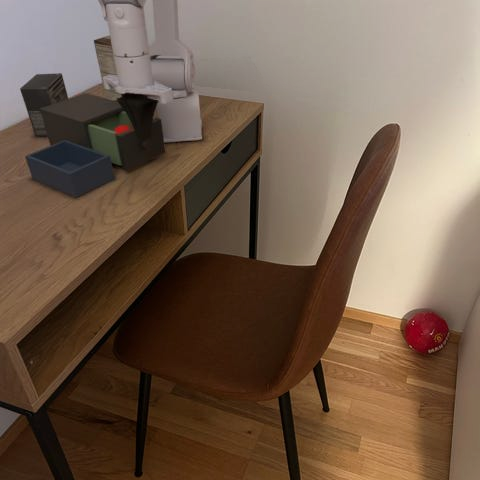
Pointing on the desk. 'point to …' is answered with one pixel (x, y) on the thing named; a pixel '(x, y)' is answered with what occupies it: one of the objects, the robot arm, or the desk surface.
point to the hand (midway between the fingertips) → (144, 137)
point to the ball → (122, 129)
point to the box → (70, 168)
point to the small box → (42, 97)
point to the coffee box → (106, 64)
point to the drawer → (125, 141)
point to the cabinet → (76, 117)
